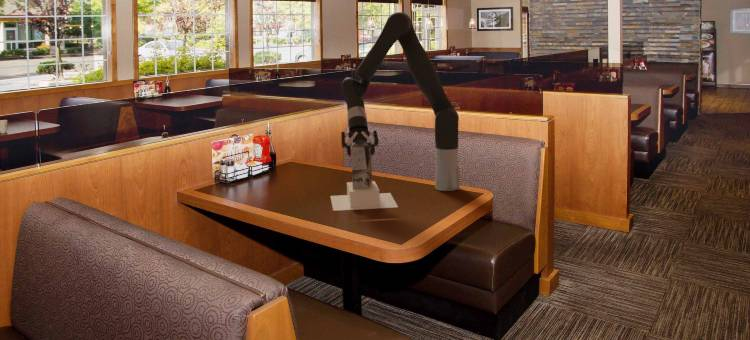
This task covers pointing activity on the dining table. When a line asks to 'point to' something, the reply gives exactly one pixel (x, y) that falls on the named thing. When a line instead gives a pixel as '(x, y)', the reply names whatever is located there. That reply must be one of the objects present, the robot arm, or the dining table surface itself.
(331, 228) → the dining table surface
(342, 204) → the mat
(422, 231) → the dining table surface
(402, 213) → the dining table surface
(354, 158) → the grey tall block
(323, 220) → the dining table surface
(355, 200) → the beige cube with notch
